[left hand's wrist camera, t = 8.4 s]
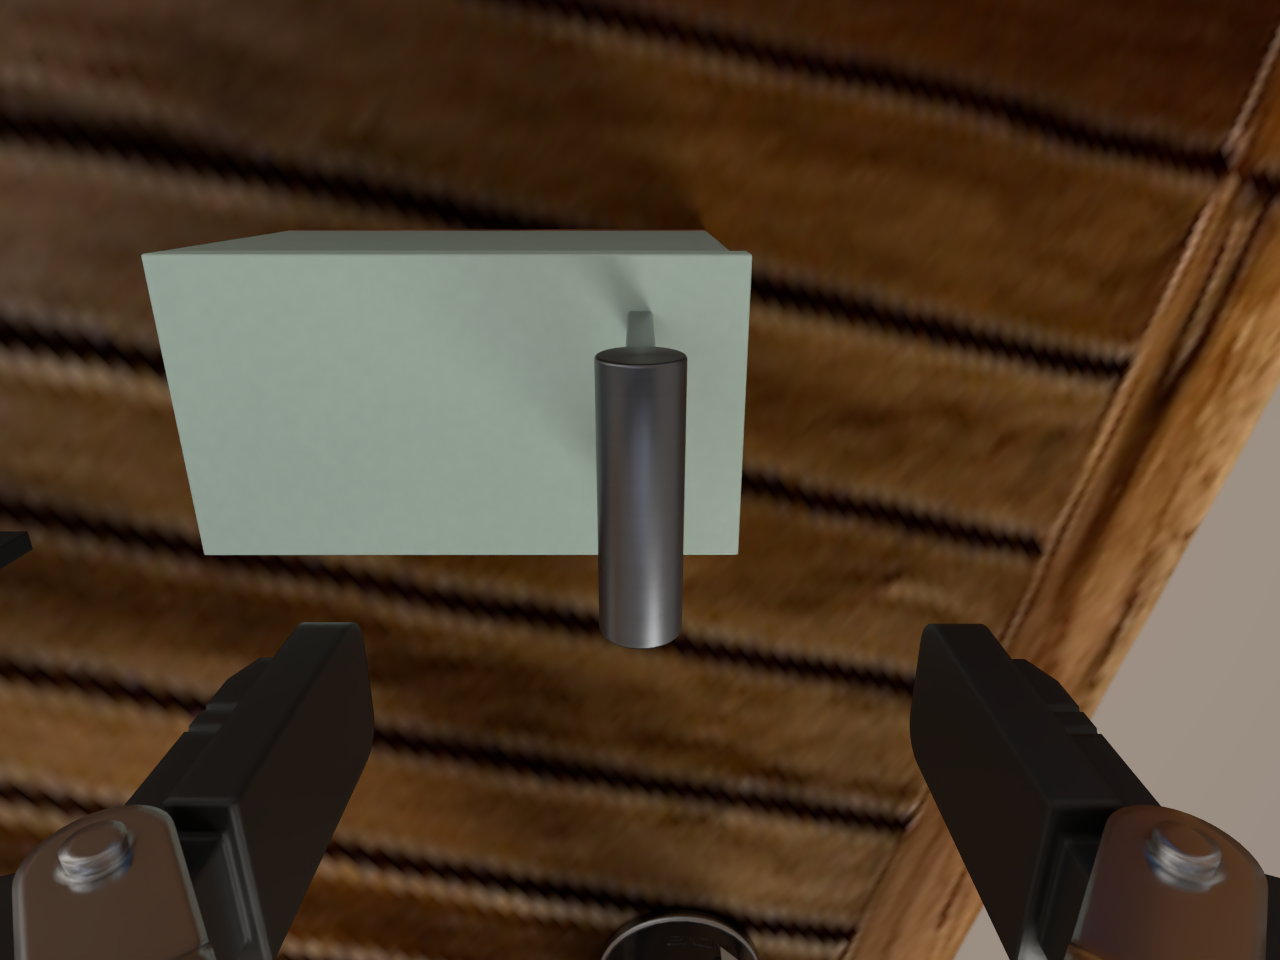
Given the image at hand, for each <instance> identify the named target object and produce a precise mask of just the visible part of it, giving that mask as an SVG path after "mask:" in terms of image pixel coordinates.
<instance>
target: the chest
mask: <svg viewBox="0 0 1280 960" xmlns="http://www.w3.org/2000/svg"><path fill="white" fill-rule="evenodd" d="M166 251H729V250H728V249H727V248H725V247H724V246H723V245H722V244H721V243H720V242H718V241H717V240H716V239H715V238H714V237H712V236H711V235H710V234H709V233H708V232H707V230H706V229H293V230H287V231H284V232H278V233H272V234H265V235H259V236H253V237H247V238H240V239H234V240H228V241H221V242H215V243H209V244H203V245H196V246H190V247H184V248H178V249H171V250H166Z"/></svg>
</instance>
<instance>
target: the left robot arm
mask: <svg viewBox="0 0 1280 960" xmlns="http://www.w3.org/2000/svg"><path fill="white" fill-rule="evenodd" d="M373 735H374V711H373V704H372V696H371V689H370V682H369V675H368V668H367V661H366V654H365V646H364V639H363V634H362V631H361V628H360V627H359V625H358V624H357V623H354V622H304V623H301V624H299V625H298V626H297V627H296V628H295V630H294V631H293V632H292V634H291V635H290V636H289V638H288V639H287V640H286V642H285V643H284V644H283V645H282V647H281V648H280V649H279V651H278V652H277V653H276V655H275V656H274V657H273V658H259V659H257V660H256V661H254V662H253V663H251V664H250V665H248V666H247V667H245V668H244V669H242V670H241V671H239V672H238V673H236V674H235V675H233V676H232V677H230V678H229V679H227V681H226V682H225V683H224V684H223V685H222V687H221V688H220V689H219V690H218V692H217V693H216V694H215V695H214V696H213V698H212V699H211V700H210V701H209V703H208V704H207V705H206V710H202V711H201V712H200V714H199V715H198V716H197V717H196V718H195V720H194V721H193V722H192V723H191V725H190V726H189V731H188V732H184V733H183V734H182V736H181V737H180V738H179V739H178V740H177V742H176V743H175V744H174V745H173V747H172V748H171V749H170V750H169V751H168V753H167V754H166V755H165V756H164V758H163V759H162V760H161V761H160V762H159V764H158V765H157V766H156V767H155V769H154V770H153V771H152V772H151V773H150V775H149V776H148V777H147V778H146V780H145V781H144V782H143V783H142V784H141V786H140V787H139V788H138V789H137V791H136V792H135V793H134V794H133V795H132V797H131V798H130V799H129V800H128V802H127V803H126V804H125V805H124V806H119V807H114V808H109V809H105V810H102V811H99V812H96V813H93V814H90V815H88V816H85V817H83V818H80V819H78V820H76V821H74V822H72V823H70V824H68V825H66V826H65V827H63V828H61V829H60V830H58V831H57V832H55V833H53V834H52V835H50V836H49V837H48V838H47V839H45V840H44V841H43V842H41V843H40V844H39V845H38V846H37V847H36V848H35V849H34V850H33V851H31V852H30V854H29V855H28V856H27V857H26V858H25V859H24V861H23V862H22V863H21V865H20V867H19V868H18V870H17V871H16V873H14V874H10V875H5V876H1V877H0V960H275V958H276V956H277V954H278V952H279V950H280V947H281V945H282V943H283V941H284V939H285V937H286V934H287V932H288V930H289V928H290V926H291V924H292V922H293V919H294V917H295V915H296V913H297V911H298V909H299V907H300V904H301V902H302V900H303V898H304V896H305V894H306V891H307V889H308V887H309V885H310V883H311V881H312V879H313V876H314V874H315V872H316V870H317V868H318V866H319V864H320V861H321V859H322V857H323V855H324V853H325V851H326V849H327V846H328V844H329V842H330V840H331V838H332V836H333V833H334V831H335V829H336V827H337V825H338V823H339V821H340V818H341V816H342V814H343V812H344V810H345V808H346V806H347V803H348V801H349V799H350V797H351V795H352V793H353V791H354V788H355V786H356V784H357V782H358V780H359V778H360V775H361V773H362V771H363V769H364V767H365V765H366V763H367V760H368V758H369V755H370V751H371V747H372V742H373ZM910 736H911V743H912V749H913V753H914V756H915V759H916V762H917V764H918V766H919V768H920V770H921V772H922V775H923V777H924V779H925V781H926V783H927V785H928V787H929V789H930V792H931V794H932V796H933V798H934V800H935V802H936V804H937V806H938V809H939V811H940V813H941V815H942V817H943V819H944V821H945V823H946V825H947V828H948V830H949V832H950V834H951V836H952V838H953V840H954V842H955V845H956V847H957V849H958V851H959V853H960V855H961V857H962V859H963V862H964V864H965V866H966V868H967V870H968V872H969V874H970V876H971V879H972V881H973V883H974V885H975V887H976V889H977V891H978V893H979V896H980V898H981V900H982V902H983V904H984V906H985V908H986V910H987V912H988V915H989V917H990V919H991V921H992V923H993V925H994V927H995V929H996V932H997V934H998V936H999V938H1000V940H1001V942H1002V944H1003V946H1004V949H1005V951H1006V953H1007V955H1008V957H1009V959H1010V960H1280V878H1278V877H1274V876H1270V875H1266V874H1264V871H1263V870H1262V868H1261V867H1260V865H1259V863H1258V862H1257V861H1256V859H1255V858H1254V857H1253V856H1252V855H1251V854H1250V852H1249V851H1247V850H1246V849H1245V848H1244V847H1243V846H1242V845H1241V844H1240V843H1239V842H1237V841H1236V840H1235V839H1233V838H1232V837H1231V836H1230V835H1228V834H1227V833H1225V832H1223V831H1222V830H1220V829H1219V828H1217V827H1215V826H1213V825H1212V824H1210V823H1208V822H1206V821H1204V820H1202V819H1199V818H1197V817H1195V816H1192V815H1190V814H1187V813H1184V812H1181V811H1178V810H1174V809H1171V808H1166V807H1161V806H1160V804H1159V803H1158V802H1157V801H1156V800H1155V798H1154V797H1153V796H1152V795H1151V794H1150V792H1149V791H1148V790H1147V789H1146V788H1145V786H1144V785H1143V784H1142V783H1141V781H1140V780H1139V779H1138V778H1137V777H1136V775H1135V774H1134V773H1133V772H1132V770H1131V769H1130V768H1129V767H1128V766H1127V764H1126V763H1125V762H1124V761H1123V760H1122V758H1121V757H1120V756H1119V755H1118V754H1117V752H1116V751H1115V750H1114V749H1113V747H1112V746H1111V745H1110V744H1109V743H1108V741H1107V740H1106V739H1105V738H1104V737H1103V735H1102V734H1097V728H1096V727H1095V726H1094V724H1093V723H1092V722H1091V721H1090V720H1089V718H1088V717H1087V716H1086V715H1085V714H1084V712H1080V711H1079V706H1078V705H1077V704H1076V703H1075V701H1074V700H1073V699H1072V698H1071V697H1070V695H1069V694H1068V693H1067V692H1066V691H1065V689H1064V688H1063V687H1062V686H1061V684H1060V683H1059V682H1058V681H1057V680H1055V679H1054V678H1052V677H1051V676H1049V675H1048V674H1046V673H1045V672H1043V671H1042V670H1040V669H1039V668H1037V667H1036V666H1034V665H1033V664H1031V663H1030V662H1028V661H1027V660H1025V659H1011V658H1010V656H1009V655H1008V654H1007V652H1006V651H1005V650H1004V648H1003V647H1002V646H1001V645H1000V643H999V642H998V641H997V639H996V638H995V637H994V635H993V634H992V633H991V631H990V630H989V629H988V628H987V627H986V626H985V625H983V624H928V625H927V626H926V627H925V628H924V630H923V633H922V637H921V642H920V649H919V656H918V663H917V670H916V677H915V684H914V692H913V699H912V706H911V713H910ZM599 960H759V958H758V954H757V952H756V949H755V947H754V945H753V943H752V942H751V940H750V939H749V938H748V937H747V936H746V934H745V933H744V932H743V931H741V930H740V929H739V928H738V927H736V926H735V925H734V924H732V923H730V922H729V921H727V920H725V919H723V918H720V917H718V916H715V915H712V914H709V913H705V912H700V911H693V910H667V911H660V912H655V913H652V914H648V915H645V916H642V917H640V918H637V919H635V920H633V921H631V922H629V923H628V924H626V925H625V926H623V927H622V928H620V929H619V930H618V931H617V932H616V933H615V934H614V935H613V936H612V937H611V938H610V939H609V940H608V942H607V943H606V945H605V946H604V948H603V950H602V953H601V956H600V959H599Z"/></svg>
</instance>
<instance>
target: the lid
mask: <svg viewBox="0 0 1280 960" xmlns="http://www.w3.org/2000/svg"><path fill="white" fill-rule="evenodd" d="M141 257H142V262H143V266H144V271H145V276H146V281H147V285H148V290H149V295H150V300H151V304H152V309H153V314H154V319H155V323H156V328H157V333H158V337H159V342H160V347H161V352H162V356H163V361H164V366H165V371H166V375H167V380H168V385H169V389H170V394H171V399H172V404H173V408H174V413H175V418H176V423H177V427H178V432H179V437H180V442H181V446H182V451H183V456H184V460H185V465H186V470H187V475H188V479H189V484H190V489H191V494H192V498H193V503H194V508H195V513H196V517H197V522H198V527H199V531H200V536H201V541H202V546H203V550H204V554H205V555H598V575H599V625H600V631H601V633H602V634H603V636H604V637H605V638H606V639H607V640H609V641H610V642H612V643H614V644H616V645H619V646H622V647H627V648H634V649H648V648H655V647H659V646H662V645H665V644H667V643H669V642H671V641H673V640H674V639H675V638H676V637H677V636H678V635H679V633H680V631H681V629H682V594H683V555H736V554H738V542H739V521H740V500H741V479H742V458H743V437H744V416H745V395H746V374H747V353H748V332H749V311H750V290H751V269H752V255H751V254H750V253H749V252H747V251H158V252H152V253H146V254H142V256H141Z"/></svg>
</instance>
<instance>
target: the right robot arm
mask: <svg viewBox="0 0 1280 960" xmlns="http://www.w3.org/2000/svg"><path fill="white" fill-rule="evenodd" d="M30 550H32V545H31V542H30V539H29V535H28V532H0V569H1V568H3V567H4V566H6V565H8V564H9V563H11V562H12V561H14V560H16V559H17V558H19V557H21V556H22V555H24V554H25V553H27V552H29V551H30Z"/></svg>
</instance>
